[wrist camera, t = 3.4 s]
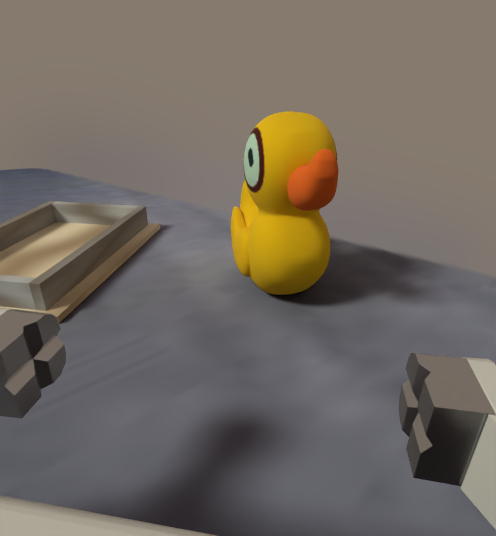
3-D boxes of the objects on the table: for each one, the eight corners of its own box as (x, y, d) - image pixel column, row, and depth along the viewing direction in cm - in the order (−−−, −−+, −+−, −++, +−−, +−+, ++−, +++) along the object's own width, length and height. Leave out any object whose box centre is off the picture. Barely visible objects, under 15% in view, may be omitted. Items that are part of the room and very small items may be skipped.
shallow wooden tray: (160, 228, 33) (158, 205, 32) (58, 323, 20) (50, 289, 19) (48, 221, 34) (43, 199, 34) (-112, 305, 22) (-128, 273, 21)
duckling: (364, 334, 19) (398, 120, 15) (259, 348, 18) (263, 123, 14) (293, 247, 29) (301, 103, 25) (222, 253, 28) (218, 104, 24)
